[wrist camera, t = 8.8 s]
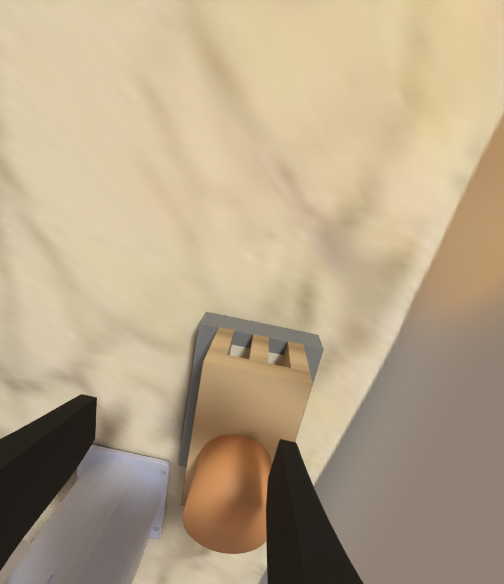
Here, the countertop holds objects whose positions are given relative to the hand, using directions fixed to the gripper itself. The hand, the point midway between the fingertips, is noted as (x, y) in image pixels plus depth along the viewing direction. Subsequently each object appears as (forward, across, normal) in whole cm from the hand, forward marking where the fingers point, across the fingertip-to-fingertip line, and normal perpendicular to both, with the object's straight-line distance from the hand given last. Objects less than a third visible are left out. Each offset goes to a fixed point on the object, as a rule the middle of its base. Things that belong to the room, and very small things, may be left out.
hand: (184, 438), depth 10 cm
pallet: (+7, -2, +4) cm, 9 cm away
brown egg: (+3, -2, +5) cm, 6 cm away
